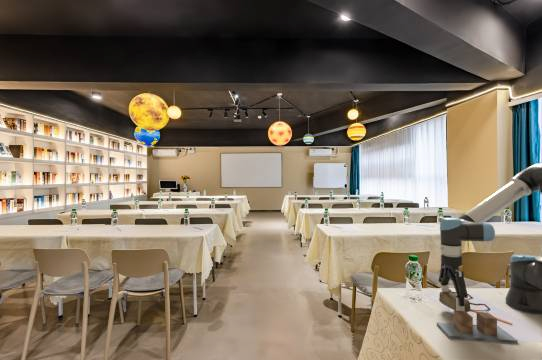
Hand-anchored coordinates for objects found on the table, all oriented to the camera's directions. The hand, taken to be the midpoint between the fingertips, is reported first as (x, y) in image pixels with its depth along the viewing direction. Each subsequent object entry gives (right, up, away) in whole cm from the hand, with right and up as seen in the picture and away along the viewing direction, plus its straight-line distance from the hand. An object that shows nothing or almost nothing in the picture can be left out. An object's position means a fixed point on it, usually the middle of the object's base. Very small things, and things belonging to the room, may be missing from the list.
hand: (452, 306), depth 119 cm
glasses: (+14, -4, +12) cm, 19 cm away
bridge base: (-1, -3, -15) cm, 15 cm away
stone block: (+1, -1, 0) cm, 1 cm away
